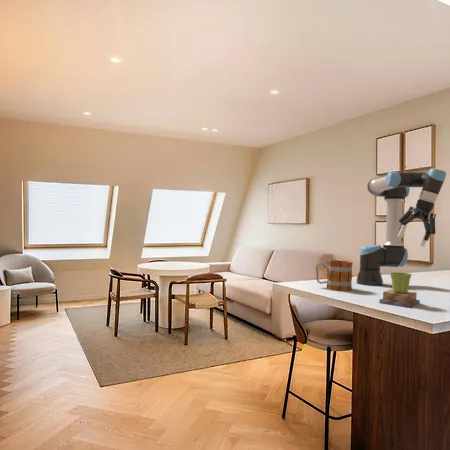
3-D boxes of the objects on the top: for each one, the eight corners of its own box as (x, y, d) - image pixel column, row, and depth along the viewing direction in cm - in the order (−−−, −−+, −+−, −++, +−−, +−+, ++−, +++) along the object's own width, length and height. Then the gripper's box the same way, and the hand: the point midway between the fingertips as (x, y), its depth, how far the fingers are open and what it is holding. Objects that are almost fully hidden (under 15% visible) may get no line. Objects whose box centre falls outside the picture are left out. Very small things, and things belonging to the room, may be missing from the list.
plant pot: (385, 290, 181) (385, 271, 181) (404, 290, 182) (404, 272, 182) (395, 294, 172) (396, 274, 172) (415, 294, 173) (416, 274, 173)
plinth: (379, 302, 177) (379, 292, 177) (390, 299, 187) (391, 288, 187) (409, 307, 168) (409, 296, 168) (419, 303, 178) (419, 292, 178)
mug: (351, 287, 218) (351, 261, 218) (352, 291, 205) (353, 263, 205) (315, 285, 223) (316, 259, 223) (314, 289, 210) (315, 261, 210)
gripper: (454, 208, 177) (436, 251, 182) (411, 196, 200) (396, 234, 204) (443, 205, 174) (425, 249, 178) (401, 193, 196) (386, 232, 201)
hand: (410, 241), depth 191 cm, fingers open, 13 cm apart
